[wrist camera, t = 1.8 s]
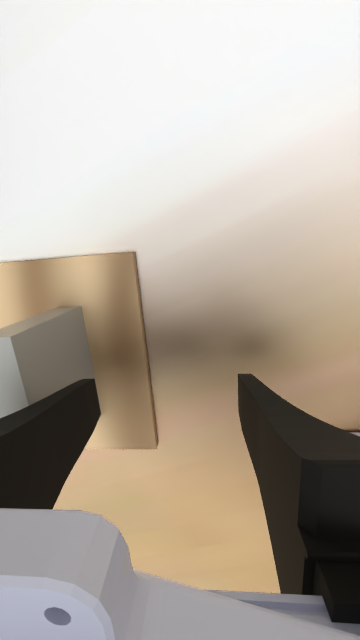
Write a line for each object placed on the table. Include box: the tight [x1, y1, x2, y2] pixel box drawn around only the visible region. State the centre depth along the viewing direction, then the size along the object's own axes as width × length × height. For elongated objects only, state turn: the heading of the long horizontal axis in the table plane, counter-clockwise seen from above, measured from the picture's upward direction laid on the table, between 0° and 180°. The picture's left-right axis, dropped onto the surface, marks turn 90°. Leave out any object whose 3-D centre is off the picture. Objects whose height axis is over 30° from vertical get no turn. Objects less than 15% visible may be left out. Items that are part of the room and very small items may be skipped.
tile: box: [0, 306, 102, 418], centre depth 14 cm, size 2×8×6 cm, turn 4°
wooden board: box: [0, 252, 158, 449], centre depth 17 cm, size 15×14×1 cm
